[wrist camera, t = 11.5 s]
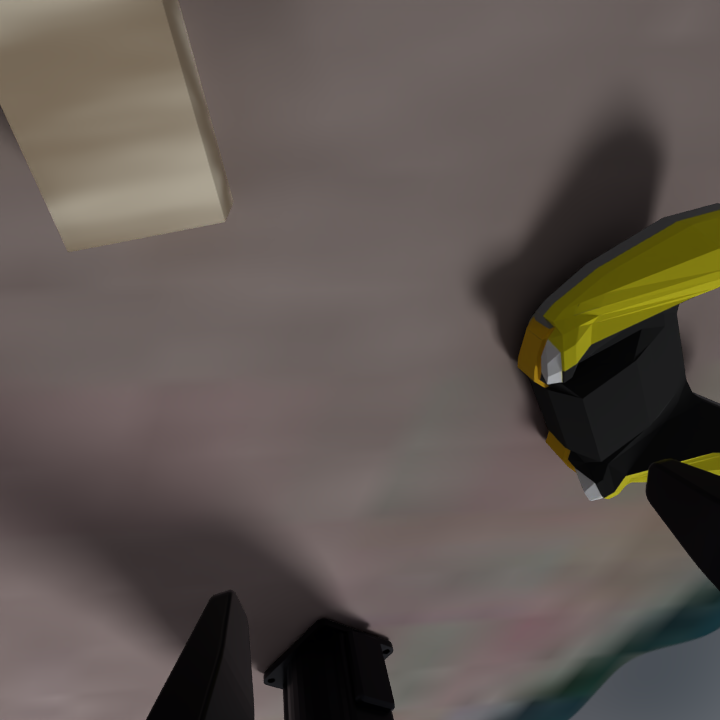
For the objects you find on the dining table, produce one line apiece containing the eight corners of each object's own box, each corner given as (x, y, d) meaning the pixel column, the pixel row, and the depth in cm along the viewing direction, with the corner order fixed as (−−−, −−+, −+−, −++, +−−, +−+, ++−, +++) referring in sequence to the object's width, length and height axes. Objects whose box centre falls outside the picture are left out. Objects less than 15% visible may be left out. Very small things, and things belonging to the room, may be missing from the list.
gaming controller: (677, 177, 21) (482, 286, 21) (804, 191, 16) (548, 331, 16) (705, 410, 28) (559, 487, 28) (799, 468, 23) (621, 560, 23)
